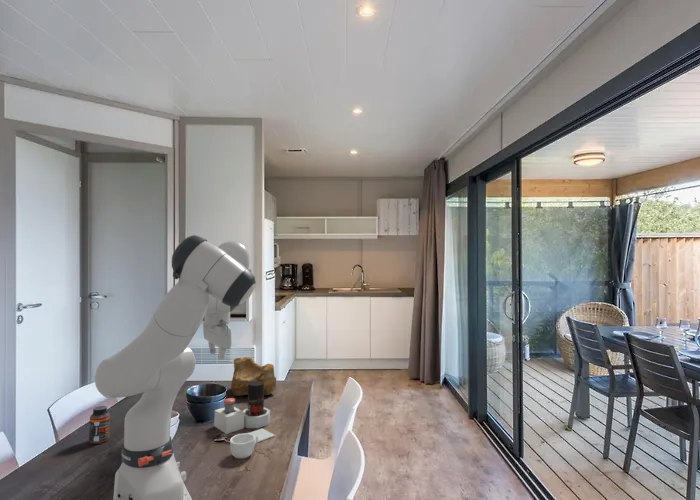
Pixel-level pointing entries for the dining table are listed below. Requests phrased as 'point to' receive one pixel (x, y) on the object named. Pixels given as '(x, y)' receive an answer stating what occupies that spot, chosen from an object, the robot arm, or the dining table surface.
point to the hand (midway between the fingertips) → (216, 356)
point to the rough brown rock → (252, 376)
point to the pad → (262, 434)
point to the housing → (239, 420)
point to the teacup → (242, 445)
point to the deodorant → (255, 398)
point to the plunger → (229, 405)
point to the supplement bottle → (99, 425)
